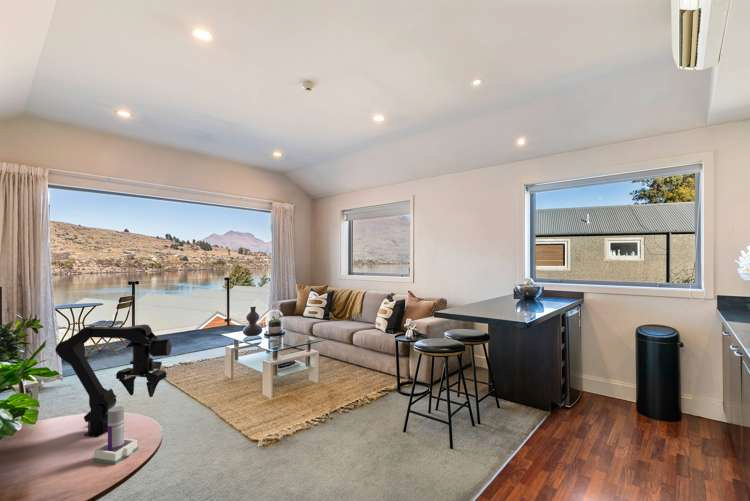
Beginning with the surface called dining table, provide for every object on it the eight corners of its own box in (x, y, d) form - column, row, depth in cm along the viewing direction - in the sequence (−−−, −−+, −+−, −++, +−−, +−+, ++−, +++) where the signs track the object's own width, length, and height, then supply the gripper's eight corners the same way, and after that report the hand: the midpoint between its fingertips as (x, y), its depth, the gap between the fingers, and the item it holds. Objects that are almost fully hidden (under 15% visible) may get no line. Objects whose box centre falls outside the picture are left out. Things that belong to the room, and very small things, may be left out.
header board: (93, 461, 121) (93, 450, 121) (117, 446, 130) (117, 437, 130) (117, 464, 119) (117, 454, 119) (140, 449, 128) (140, 440, 128)
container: (107, 451, 125) (106, 408, 125) (123, 446, 128) (123, 404, 128) (108, 457, 121) (108, 413, 121) (125, 452, 124) (125, 409, 124)
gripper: (176, 352, 149) (176, 390, 149) (138, 350, 153) (138, 386, 153) (155, 360, 138) (155, 401, 138) (114, 358, 142) (115, 397, 142)
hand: (141, 396), depth 143 cm, fingers open, 9 cm apart
